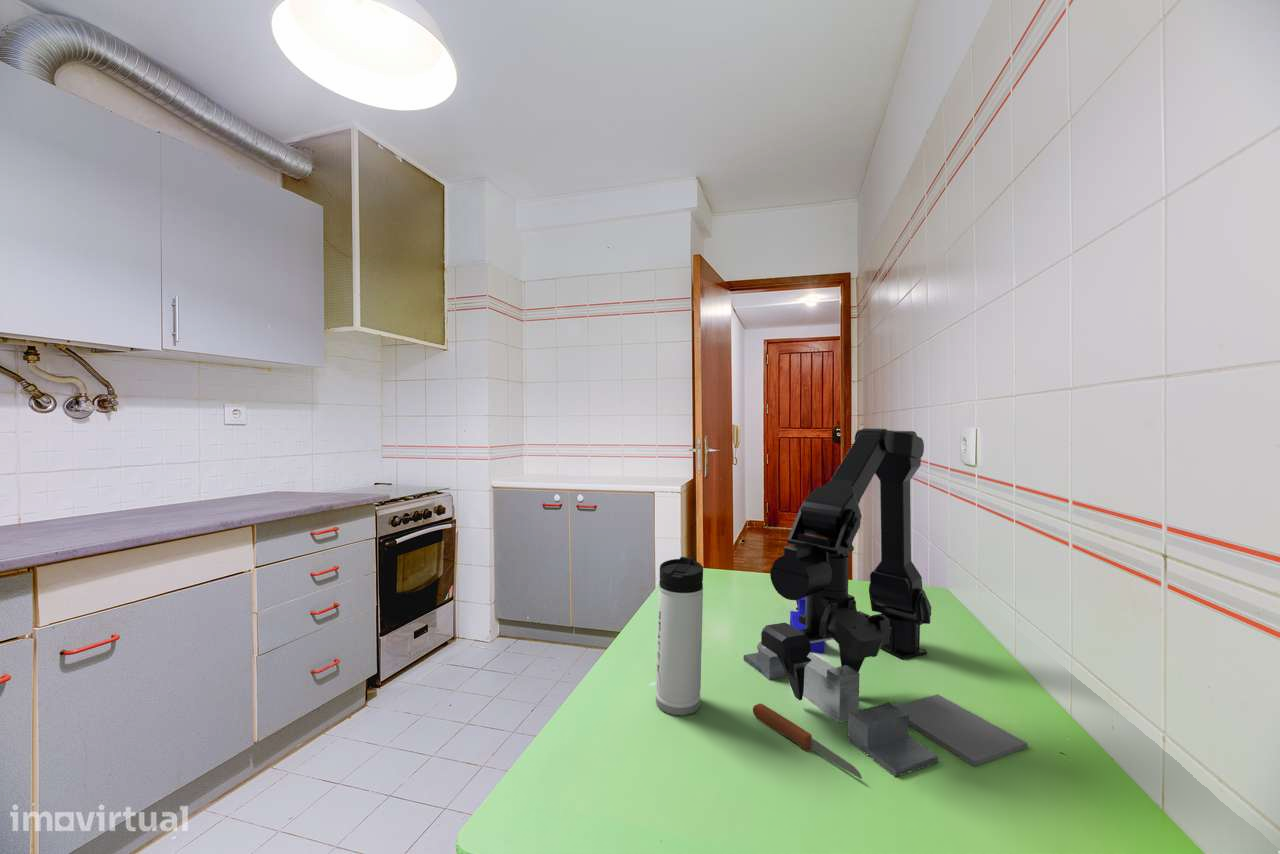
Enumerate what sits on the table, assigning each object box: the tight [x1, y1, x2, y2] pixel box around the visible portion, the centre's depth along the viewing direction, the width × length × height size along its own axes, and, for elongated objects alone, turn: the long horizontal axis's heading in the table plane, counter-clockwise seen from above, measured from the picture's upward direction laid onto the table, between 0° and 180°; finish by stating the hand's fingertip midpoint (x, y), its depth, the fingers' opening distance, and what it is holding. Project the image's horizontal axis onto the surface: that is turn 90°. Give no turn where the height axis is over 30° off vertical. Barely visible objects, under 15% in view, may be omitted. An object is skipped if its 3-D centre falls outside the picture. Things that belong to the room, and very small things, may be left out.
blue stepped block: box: [789, 597, 826, 654], centre depth 93 cm, size 12×4×6 cm, turn 169°
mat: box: [894, 694, 1028, 767], centre depth 66 cm, size 10×12×1 cm
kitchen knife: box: [752, 703, 863, 780], centre depth 61 cm, size 16×1×2 cm, turn 34°
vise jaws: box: [743, 641, 939, 777], centre depth 71 cm, size 7×30×4 cm, turn 22°
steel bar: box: [788, 652, 860, 723], centre depth 72 cm, size 4×10×6 cm, turn 23°
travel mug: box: [655, 556, 704, 716], centre depth 70 cm, size 6×7×20 cm
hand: (824, 693), depth 71 cm, fingers open, 9 cm apart
